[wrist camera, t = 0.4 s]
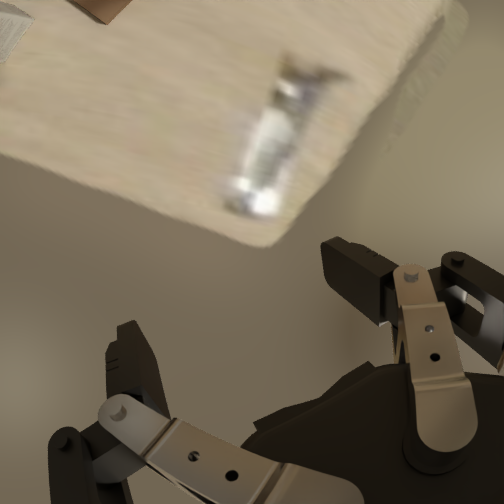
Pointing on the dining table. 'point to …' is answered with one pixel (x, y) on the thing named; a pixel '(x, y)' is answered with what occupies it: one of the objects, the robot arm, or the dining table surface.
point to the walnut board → (104, 8)
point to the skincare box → (11, 28)
